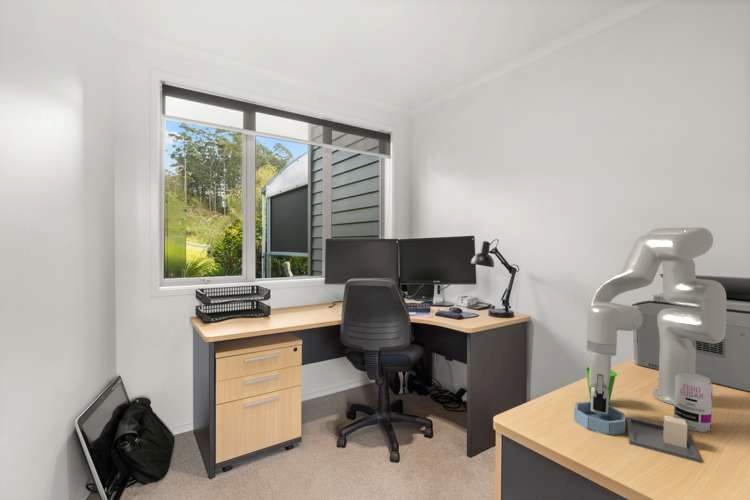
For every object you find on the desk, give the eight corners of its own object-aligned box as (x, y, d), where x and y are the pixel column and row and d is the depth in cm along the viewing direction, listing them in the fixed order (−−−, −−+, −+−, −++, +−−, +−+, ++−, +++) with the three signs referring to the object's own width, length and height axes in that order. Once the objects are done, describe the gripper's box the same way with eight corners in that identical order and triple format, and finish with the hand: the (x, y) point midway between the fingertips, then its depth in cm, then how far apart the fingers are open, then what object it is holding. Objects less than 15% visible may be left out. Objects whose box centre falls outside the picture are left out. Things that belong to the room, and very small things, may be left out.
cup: (621, 411, 113) (622, 377, 113) (590, 408, 115) (591, 374, 115) (608, 399, 122) (609, 367, 122) (579, 396, 124) (580, 365, 124)
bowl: (576, 410, 113) (576, 398, 113) (623, 422, 106) (623, 408, 106) (573, 427, 103) (573, 413, 103) (625, 441, 96) (625, 426, 96)
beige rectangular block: (663, 436, 98) (663, 415, 98) (684, 441, 95) (684, 419, 95) (664, 442, 95) (665, 420, 95) (686, 448, 92) (687, 425, 92)
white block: (590, 406, 109) (591, 386, 109) (608, 409, 107) (608, 390, 107) (590, 410, 106) (591, 390, 106) (608, 414, 104) (608, 394, 104)
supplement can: (701, 422, 107) (703, 373, 107) (717, 436, 99) (719, 383, 99) (668, 417, 110) (670, 369, 109) (681, 430, 102) (683, 379, 102)
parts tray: (626, 420, 107) (626, 416, 107) (687, 434, 100) (687, 430, 100) (629, 445, 94) (629, 440, 94) (699, 464, 86) (700, 459, 86)
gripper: (587, 339, 115) (586, 395, 115) (585, 352, 101) (583, 415, 102) (615, 343, 111) (613, 401, 111) (617, 357, 97) (615, 423, 97)
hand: (599, 407), depth 106 cm, fingers closed on white block, 3 cm apart
